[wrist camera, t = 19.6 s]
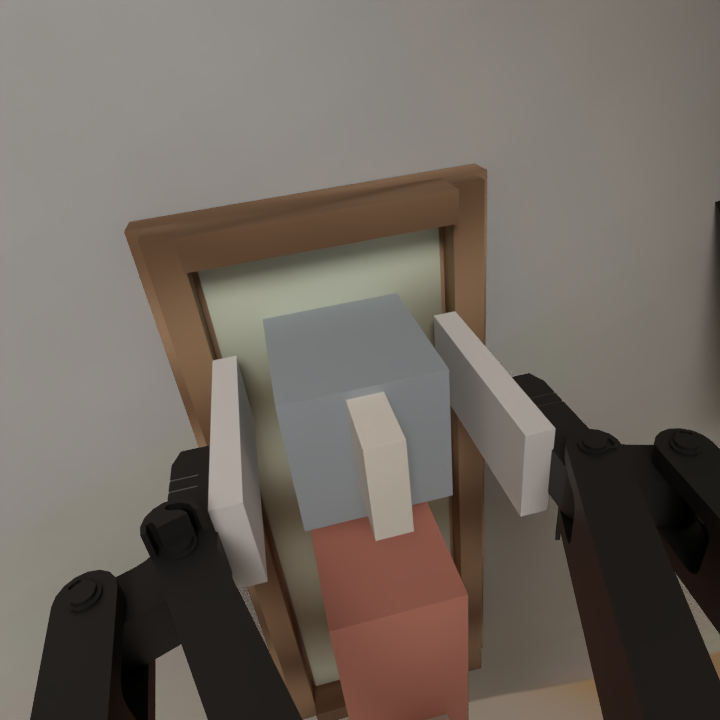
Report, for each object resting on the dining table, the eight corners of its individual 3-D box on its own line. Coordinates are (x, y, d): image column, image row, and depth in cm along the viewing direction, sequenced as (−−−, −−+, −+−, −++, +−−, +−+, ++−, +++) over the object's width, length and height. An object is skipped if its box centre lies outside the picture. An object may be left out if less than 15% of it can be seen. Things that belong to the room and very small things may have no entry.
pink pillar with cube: (304, 494, 22) (335, 669, 16) (412, 469, 22) (483, 629, 16) (341, 662, 28) (373, 834, 22) (425, 639, 29) (479, 801, 23)
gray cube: (262, 319, 18) (282, 459, 12) (396, 293, 18) (480, 414, 12) (287, 427, 20) (314, 589, 14) (405, 401, 21) (479, 547, 15)
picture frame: (129, 221, 17) (115, 248, 14) (474, 163, 18) (508, 180, 16) (285, 684, 30) (290, 733, 28) (475, 631, 32) (493, 674, 29)
